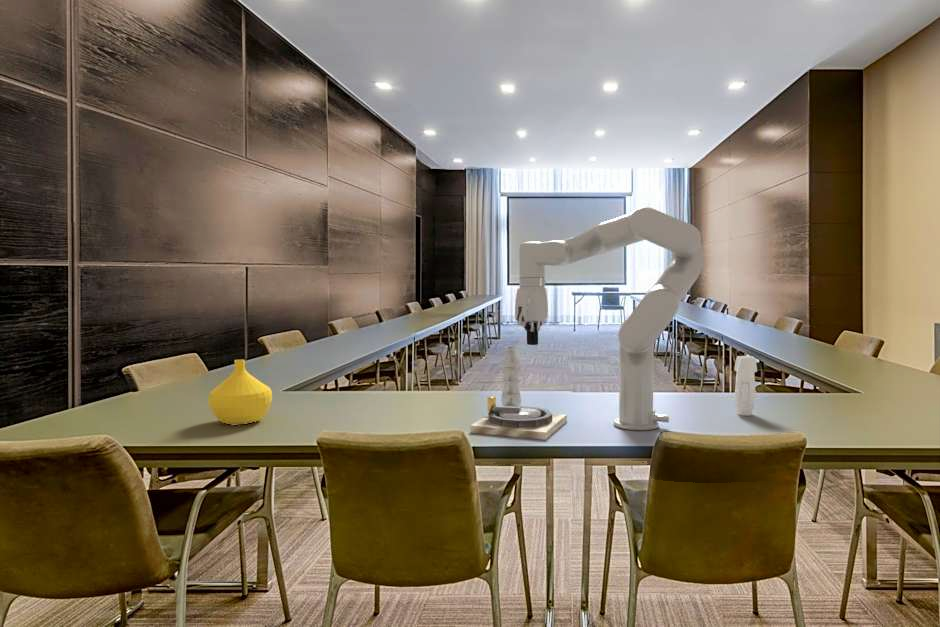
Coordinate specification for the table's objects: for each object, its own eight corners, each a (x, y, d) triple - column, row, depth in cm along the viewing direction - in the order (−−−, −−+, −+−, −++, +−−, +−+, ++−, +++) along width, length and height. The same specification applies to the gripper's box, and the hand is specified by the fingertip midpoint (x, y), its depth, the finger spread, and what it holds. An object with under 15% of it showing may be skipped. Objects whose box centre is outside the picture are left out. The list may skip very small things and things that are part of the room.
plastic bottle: (520, 410, 204) (519, 349, 203) (499, 409, 206) (498, 348, 204) (522, 405, 211) (521, 346, 209) (502, 405, 212) (501, 346, 211)
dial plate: (566, 421, 188) (566, 408, 188) (545, 439, 168) (545, 425, 168) (497, 415, 197) (497, 402, 197) (469, 432, 177) (469, 418, 177)
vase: (202, 430, 183) (199, 365, 182) (217, 416, 201) (215, 357, 200) (268, 427, 186) (265, 363, 184) (277, 413, 204) (275, 355, 202)
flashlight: (733, 411, 199) (732, 415, 193) (734, 354, 198) (733, 357, 192) (756, 412, 197) (756, 417, 190) (757, 355, 195) (757, 358, 189)
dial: (544, 415, 187) (543, 395, 186) (536, 425, 175) (536, 403, 175) (492, 412, 191) (492, 393, 191) (482, 421, 180) (482, 401, 179)
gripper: (540, 282, 195) (540, 341, 197) (505, 284, 186) (505, 345, 187) (558, 283, 190) (558, 343, 191) (522, 284, 180) (523, 347, 181)
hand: (532, 344), depth 189 cm, fingers closed
